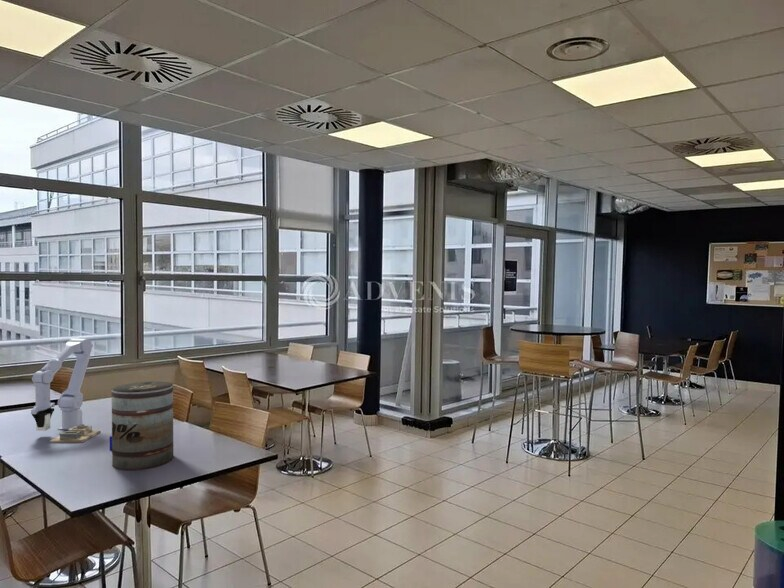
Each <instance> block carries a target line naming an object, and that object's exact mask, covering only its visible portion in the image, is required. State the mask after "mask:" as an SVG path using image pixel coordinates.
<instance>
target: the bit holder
mask: <svg viewBox="0 0 784 588" xmlns="http://www.w3.org/2000/svg"><path fill="white" fill-rule="evenodd" d="M98 434H101V430H93V426H92V425H82V426H75V427H73V428H71V429H67V431H62V432H61V433H59V436H56V437H55V438H52V439H50V440H49V443H50V444H53V443H54V444H55V443H57V444H59V443H60V444H61V443H62V444H63V443H66V444H69V443H71V444H72V443H83V442H86V441H87V440H89V439H91V438H93V437H95V436H98Z"/></svg>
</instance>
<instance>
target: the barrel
mask: <svg viewBox="0 0 784 588" xmlns="http://www.w3.org/2000/svg"><path fill="white" fill-rule="evenodd" d="M111 436H112V450H111V452H112V454H111V458H112V461H111V463H112V464H111V465H112V467H113V468H114V469H117V470H121V471H142V470H148V469H153V468H157V467H162V466H164V465H166V464H168V463H170V462H171V461H172V460H174V385H173V383H172V382H169V381H168V382H167V381H155V380H154V381H138V382H130V383H123V384H120V385H116V386H113V387H112V388H111Z"/></svg>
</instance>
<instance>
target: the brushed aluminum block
mask: <svg viewBox="0 0 784 588" xmlns="http://www.w3.org/2000/svg"><path fill="white" fill-rule="evenodd" d="M35 426H36V427H35V429H36V432H38V431H39V432H40V431H41V432H44V431H47V430H50V429H51V419H50V413H46V415H45V418H44V425H43V427H37V424H35Z"/></svg>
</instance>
